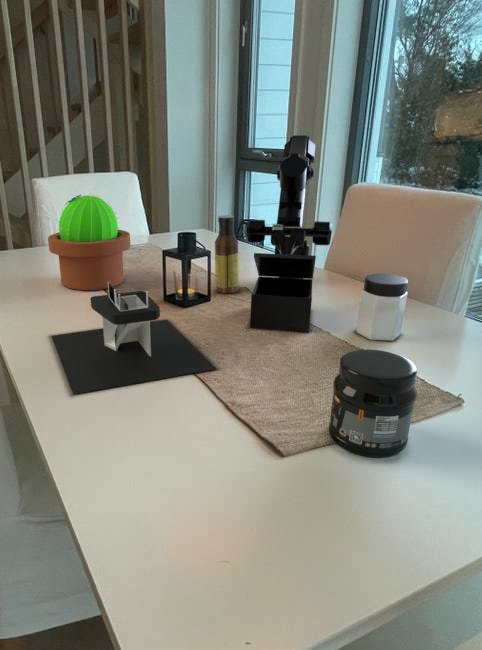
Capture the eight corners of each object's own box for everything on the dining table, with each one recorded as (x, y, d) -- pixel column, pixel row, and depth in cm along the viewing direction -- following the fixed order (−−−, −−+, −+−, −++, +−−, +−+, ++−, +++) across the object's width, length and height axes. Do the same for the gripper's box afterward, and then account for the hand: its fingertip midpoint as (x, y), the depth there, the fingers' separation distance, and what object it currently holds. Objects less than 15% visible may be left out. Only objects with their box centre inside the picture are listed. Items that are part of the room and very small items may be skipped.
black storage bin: (308, 332, 109) (312, 298, 106) (249, 328, 112) (251, 294, 109) (309, 310, 122) (312, 279, 119) (257, 307, 125) (258, 276, 122)
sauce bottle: (238, 287, 141) (240, 214, 133) (238, 294, 135) (241, 218, 127) (214, 287, 141) (215, 214, 133) (213, 294, 135) (214, 218, 128)
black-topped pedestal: (51, 336, 110) (44, 275, 104) (166, 320, 118) (165, 263, 113) (73, 395, 85) (65, 320, 80) (216, 369, 94) (217, 299, 88)
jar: (409, 338, 106) (419, 282, 101) (377, 344, 103) (385, 286, 99) (379, 324, 114) (387, 271, 109) (348, 329, 111) (355, 275, 106)
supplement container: (355, 412, 79) (365, 341, 74) (421, 442, 71) (437, 365, 66) (312, 437, 73) (320, 361, 68) (379, 472, 65) (393, 389, 60)
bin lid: (315, 259, 104) (315, 255, 104) (253, 256, 107) (254, 252, 107) (312, 278, 119) (313, 275, 119) (258, 276, 122) (258, 272, 122)
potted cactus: (146, 278, 150) (142, 190, 141) (97, 298, 133) (89, 199, 124) (89, 269, 161) (82, 186, 152) (37, 286, 144) (26, 195, 135)
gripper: (329, 228, 124) (325, 284, 118) (252, 225, 128) (245, 280, 123) (334, 198, 114) (330, 259, 108) (250, 197, 118) (242, 255, 113)
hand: (285, 264), depth 113 cm, fingers closed, pressing on bin lid
